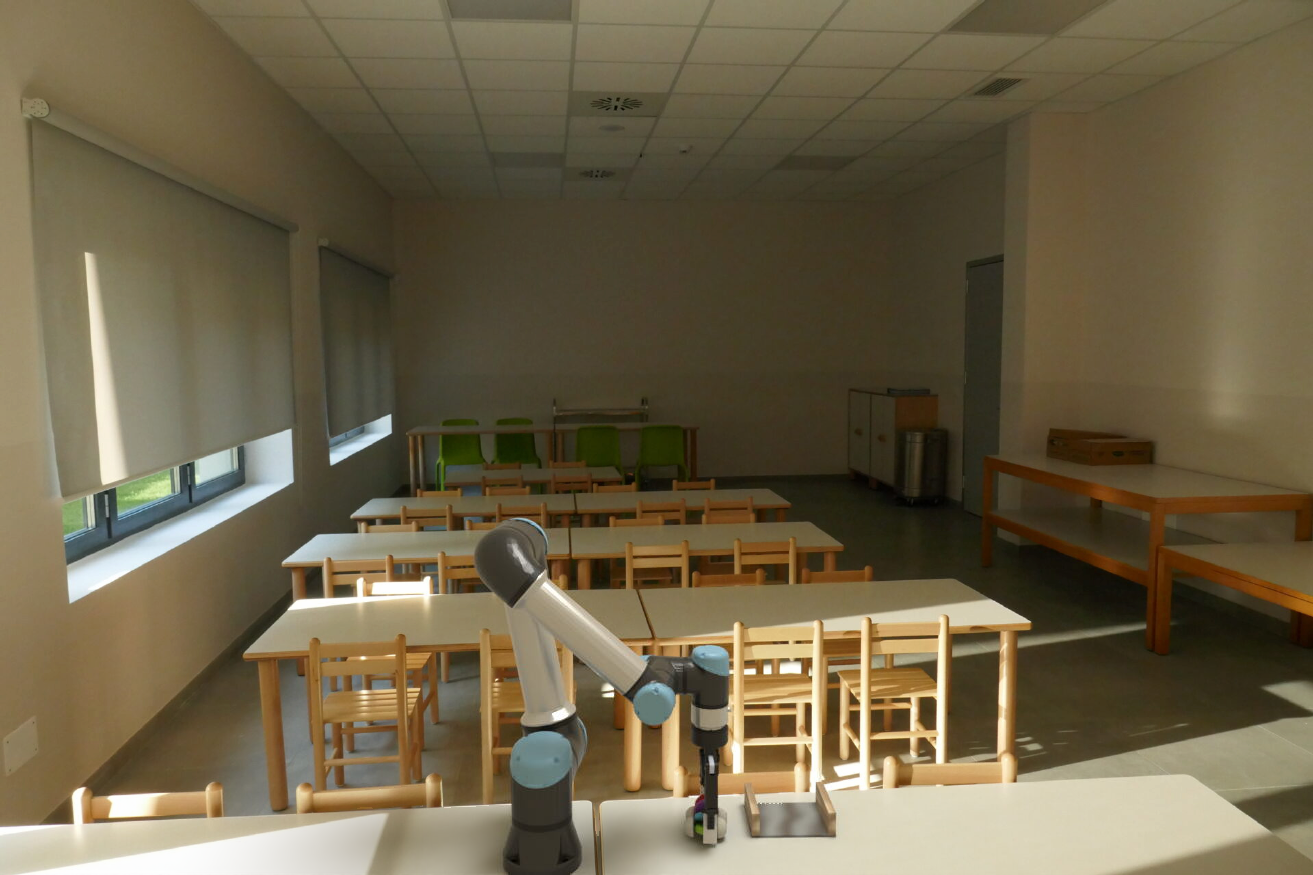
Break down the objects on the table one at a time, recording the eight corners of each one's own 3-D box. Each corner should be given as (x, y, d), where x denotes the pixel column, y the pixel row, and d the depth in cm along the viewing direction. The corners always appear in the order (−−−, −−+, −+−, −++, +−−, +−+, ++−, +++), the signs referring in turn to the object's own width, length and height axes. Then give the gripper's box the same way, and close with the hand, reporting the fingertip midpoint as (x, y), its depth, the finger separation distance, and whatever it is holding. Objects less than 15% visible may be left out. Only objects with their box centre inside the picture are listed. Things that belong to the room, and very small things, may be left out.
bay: (752, 837, 189) (752, 813, 189) (744, 804, 203) (744, 782, 203) (835, 836, 190) (836, 812, 189) (822, 803, 204) (822, 781, 203)
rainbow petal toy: (727, 821, 196) (727, 787, 195) (725, 844, 186) (726, 809, 185) (686, 818, 196) (687, 785, 196) (683, 842, 187) (683, 807, 186)
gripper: (733, 746, 178) (731, 858, 180) (723, 703, 200) (721, 803, 202) (694, 745, 178) (692, 858, 180) (688, 703, 200) (687, 803, 202)
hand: (708, 829), depth 191 cm, fingers closed on rainbow petal toy, 10 cm apart
